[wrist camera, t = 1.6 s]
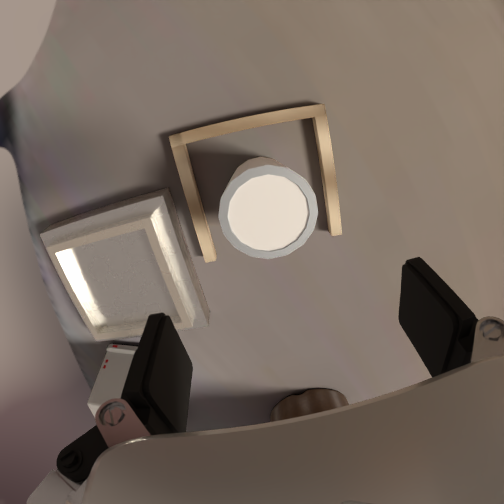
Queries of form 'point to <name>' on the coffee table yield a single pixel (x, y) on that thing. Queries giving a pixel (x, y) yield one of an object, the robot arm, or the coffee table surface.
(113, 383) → the toy vehicle
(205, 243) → the cradle
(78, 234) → the plate
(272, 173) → the white cup
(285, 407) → the plant pot
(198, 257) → the coffee table surface
